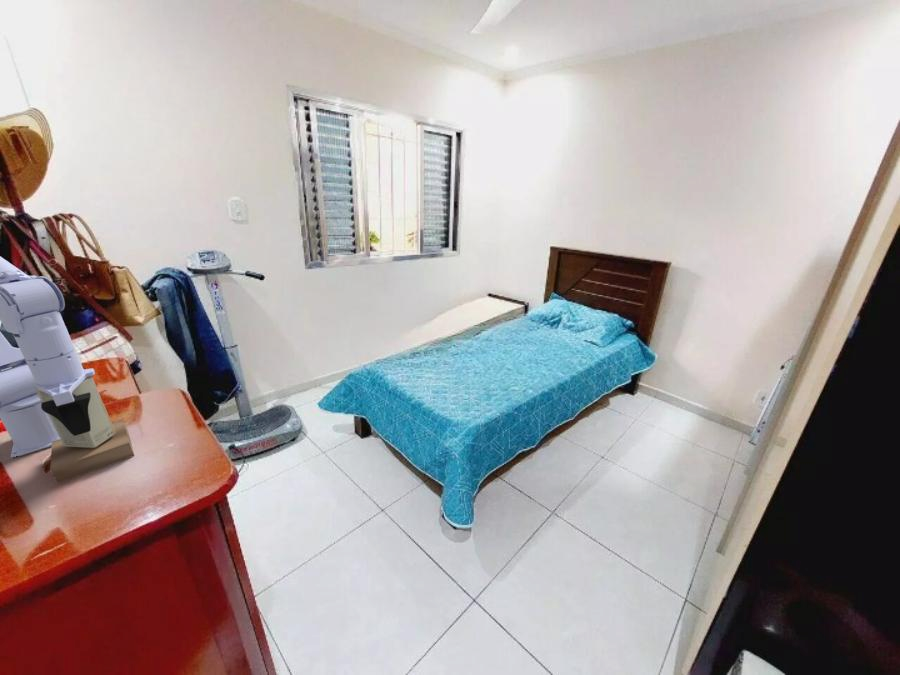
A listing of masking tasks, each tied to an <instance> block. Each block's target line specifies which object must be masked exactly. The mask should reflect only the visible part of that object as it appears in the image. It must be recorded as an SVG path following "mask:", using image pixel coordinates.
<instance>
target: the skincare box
mask: <svg viewBox="0 0 900 675" xmlns="http://www.w3.org/2000/svg"><path fill="white" fill-rule="evenodd" d="M35 390H36V392H37V394H38V396H39V398H40V400H41V402H42V403H43V402H47V401H50V400H53V397H52V396H51V395H49V394H47V393H45V392H43V391H41V390H39V389H37V388H36V387H35ZM89 392H90V394H91V397H90V401H89V405H88V414H89V419H90V426H91V430H90V431H89V432H86V433H83V434H80V435H76V436H74V435H73V434H71V433H70V432H69V431H68V430H67V428H66V427H65V426H64V425H63V424H62V423H61V422H60V421H59V420H58V419H56V418H55V417H53V416H52V415H50V414H48V415H49V417H50V419H51V421H52V423H53V425H54V427H55V429H56V431H57V433H58V435H59V437H60V439H61V441H62V443H63V445H64V446H69V447H86V448H88V447H89V448H95V447H97V446H98V445H100V444H101V443H103V442H104V441H106V440H107V439H109V438H110V437H111V436H113V435H114V434H116V431H115V429H114V427H113V425H112V423H113V421H111V418H110V416H109V414H108V411H107V409H106V406H105V404H104V401H103V400H102V397H101V395H100V393H99V390H98V387H97V385H96V384H95V380H94V378H93V376H89V377H86V378H85V379H84V380H83V381H82V382H81V383H80V384H79V385H78V386H77V387H76V388H75V389H74V391H73V392H72V393H73V395H74V394H75V395H76V396H78V395H81V394H85V393H89Z"/></svg>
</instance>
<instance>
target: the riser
mask: <svg viewBox="0 0 900 675" xmlns="http://www.w3.org/2000/svg"><path fill="white" fill-rule="evenodd" d="M112 425H113V427H114V429H115V431H116V434H114V435H113V436H111V437H110V438H109V439H107V440H106V441H104V442H103V443H101V444H100V445H98V446H97V447H95V448H89V447H88V448H86V447H69V446H64V445H63V443H62V441H61V439H59V440H56V441H52V446H51V450H50V451H51V453H50V468H49V469H50V470H49V471H50V472H51V474H52V476H53V478H54V480H55V482H56V484H57V485H59V484H62V483H65V482H67V481H69V480H72V479H75V478H79V477H81V476H84V475H86V474H89V473H91V472H94V471H97V470H100V469H102V468H104V467H107V466H110V465H113V464H116V463H118V462H122V461H124V460H126V459H129V458H132V457H135V453H134V448H133V445H132V442H131V436H130V433H129V430H128V428H127V425H126V423H125V419H121V420H117V421H114V422H113V421H112Z"/></svg>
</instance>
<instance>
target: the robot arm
mask: <svg viewBox="0 0 900 675" xmlns="http://www.w3.org/2000/svg"><path fill="white" fill-rule="evenodd" d="M65 302H66V301H65V298H64V296H63V293H62V291H61V290H60V288H59V287H58V286H57V284H55V283H54V282H53V281H52V280H51V279H50V278H48V277H47V276H42V275H41V276H37V275H34V274H33V275H28V274H27V273H25V272H23V271H22V270H21V269H20V268H18V267H16V266H15V265H13V264H12V263H10V262H9V261H8V260H6V259H5V258H3V257H2V256H0V323H2V325H3V328H4V329H5V330H6V332H7V333H12V336H13V337H14V339H15V341H16V345H17V346H18V347H14V346H12V344H10V343H9V341H8V339H7V338H6V337H5V335H3V333H2V332H1V331H0V420H1V423H2V424H3V426H4V428H5V430H6V431H7V433H8V435H9V437H10V439H11V441H12V443H13V444H12V449H11V454H10V458H12V457H15V458H17V457H16V456H18V457H21V456H24V455H28V454H31V453H34V452H38V451H40V450H43V449H46V448H50V447H52V441H56V440H59V439H60V437H59V435H58V433H57V431H56V429H55V427H54V425H53V423H52V421H51V419H50V417H49V415H48V414H50V415H52V416H53V417H55V418H56V419H58V420H59V421H60V422H61V423H62V424H63V425H64V426H65V427H66V428H67V430H68V431H69V432H70V433H71V434H73V435H74V436H76V435H80V434H83V433H86V432H89V431H90V430H91V426H90V419H89V414H88V405H89V401H90V397H91V394H90V392H89V393H85V394H81V395H78V396H76V395H75V394H74V395H73V393H72V392H73V391H74V389H75V388H76V387H77V386H78V385H79V384H80V383H81V382H82V381H83V380H84V379H85V378H86V377H93V376H94V375H95V374H96V373H95V372H96V371H95V370H94V368H86V369H84V367H83V364H82V363H81V360H80V358H79V355H78V353H77V350H76V348H75V346H74V344H73V341H72V338H71V336H70V334H69V331H68V328H67V326H66V325H65V322H64V320H63V316H62V314H61V312H62V311H64V310H65V306H66V303H65ZM35 387H36V388H37V389H39V390H41V391H43V392H45V393H47V394H49V395H51V396H52V397H53V400H50V401H47V402H43V403H42V402H41V400H40V398H39V396H38V394H37V392H36V390H35Z"/></svg>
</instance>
